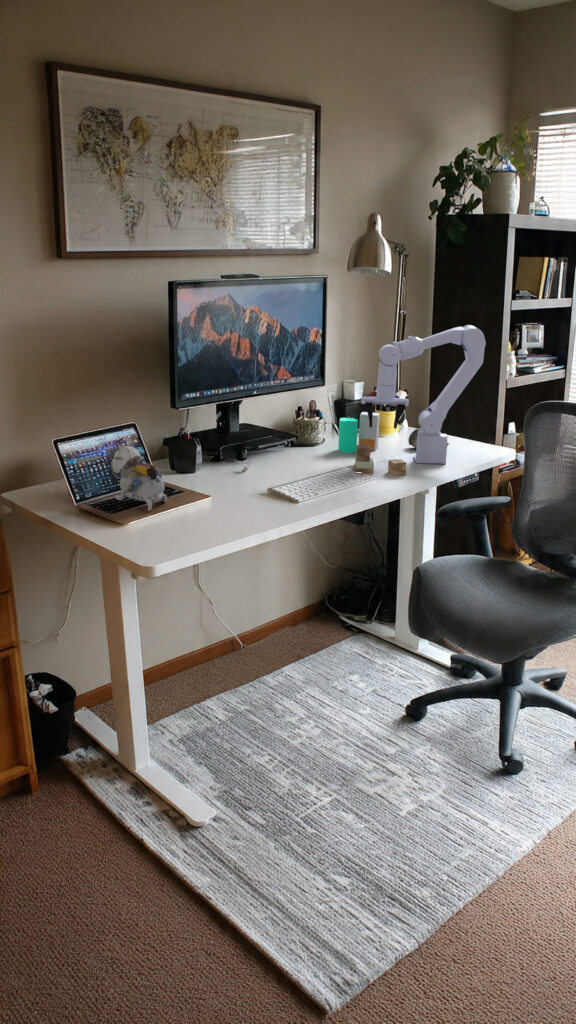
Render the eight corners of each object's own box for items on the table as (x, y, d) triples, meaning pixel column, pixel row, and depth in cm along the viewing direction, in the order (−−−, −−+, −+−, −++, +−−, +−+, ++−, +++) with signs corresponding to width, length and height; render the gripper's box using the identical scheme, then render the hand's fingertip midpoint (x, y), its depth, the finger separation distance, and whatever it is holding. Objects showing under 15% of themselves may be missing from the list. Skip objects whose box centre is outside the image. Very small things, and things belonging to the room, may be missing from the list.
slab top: (371, 464, 256) (371, 457, 255) (373, 468, 251) (373, 462, 250) (355, 463, 255) (355, 457, 255) (357, 468, 251) (357, 461, 250)
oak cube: (399, 471, 254) (400, 459, 252) (405, 475, 250) (406, 462, 249) (387, 472, 253) (388, 459, 251) (393, 476, 249) (394, 463, 248)
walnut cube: (369, 458, 254) (369, 445, 253) (369, 461, 250) (370, 448, 249) (356, 457, 254) (356, 445, 253) (356, 461, 251) (357, 448, 249)
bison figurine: (406, 447, 283) (412, 453, 273) (408, 427, 281) (413, 432, 271) (442, 448, 283) (448, 454, 274) (443, 427, 281) (450, 433, 272)
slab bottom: (371, 470, 256) (372, 463, 256) (373, 475, 251) (373, 468, 251) (353, 469, 256) (354, 463, 256) (354, 474, 251) (355, 468, 251)
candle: (356, 453, 273) (358, 416, 270) (338, 452, 273) (340, 416, 270) (355, 448, 279) (357, 413, 275) (337, 448, 279) (339, 412, 275)
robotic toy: (134, 491, 230) (132, 438, 225) (178, 504, 220) (177, 449, 215) (97, 502, 221) (94, 446, 216) (141, 516, 210) (139, 458, 205)
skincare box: (357, 449, 278) (359, 414, 274) (360, 446, 282) (362, 411, 278) (375, 451, 276) (377, 415, 272) (378, 448, 280) (380, 412, 276)
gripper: (408, 383, 262) (404, 425, 267) (362, 380, 263) (359, 423, 267) (411, 387, 256) (406, 430, 260) (363, 384, 256) (360, 428, 260)
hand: (382, 427), depth 263 cm, fingers open, 7 cm apart
